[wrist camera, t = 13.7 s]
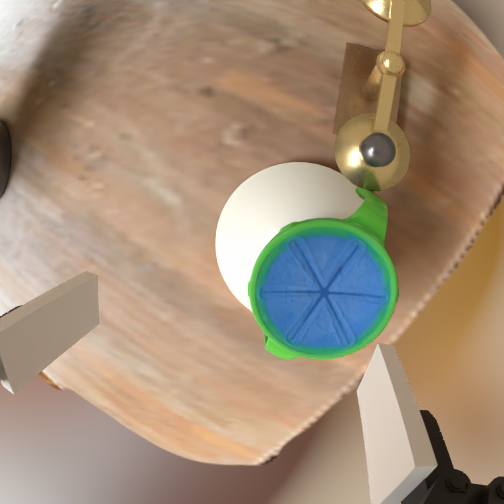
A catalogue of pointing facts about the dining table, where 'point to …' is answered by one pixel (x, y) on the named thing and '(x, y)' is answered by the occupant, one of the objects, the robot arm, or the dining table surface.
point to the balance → (375, 102)
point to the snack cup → (325, 284)
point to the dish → (276, 214)
